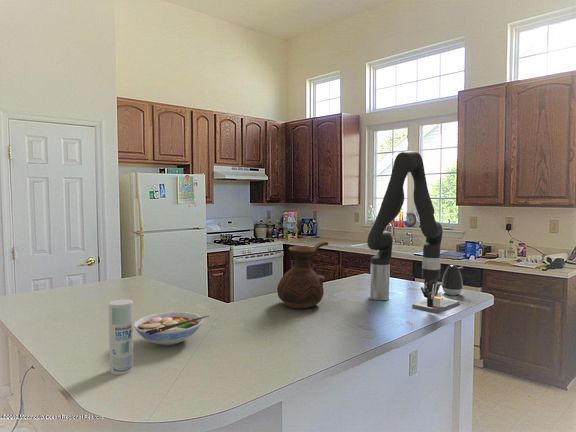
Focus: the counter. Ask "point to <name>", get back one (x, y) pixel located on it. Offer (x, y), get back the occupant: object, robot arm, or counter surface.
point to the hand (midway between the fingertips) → (430, 306)
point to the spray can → (121, 336)
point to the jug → (302, 280)
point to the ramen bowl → (168, 327)
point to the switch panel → (446, 305)
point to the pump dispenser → (452, 280)
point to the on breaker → (439, 294)
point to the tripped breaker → (438, 302)
